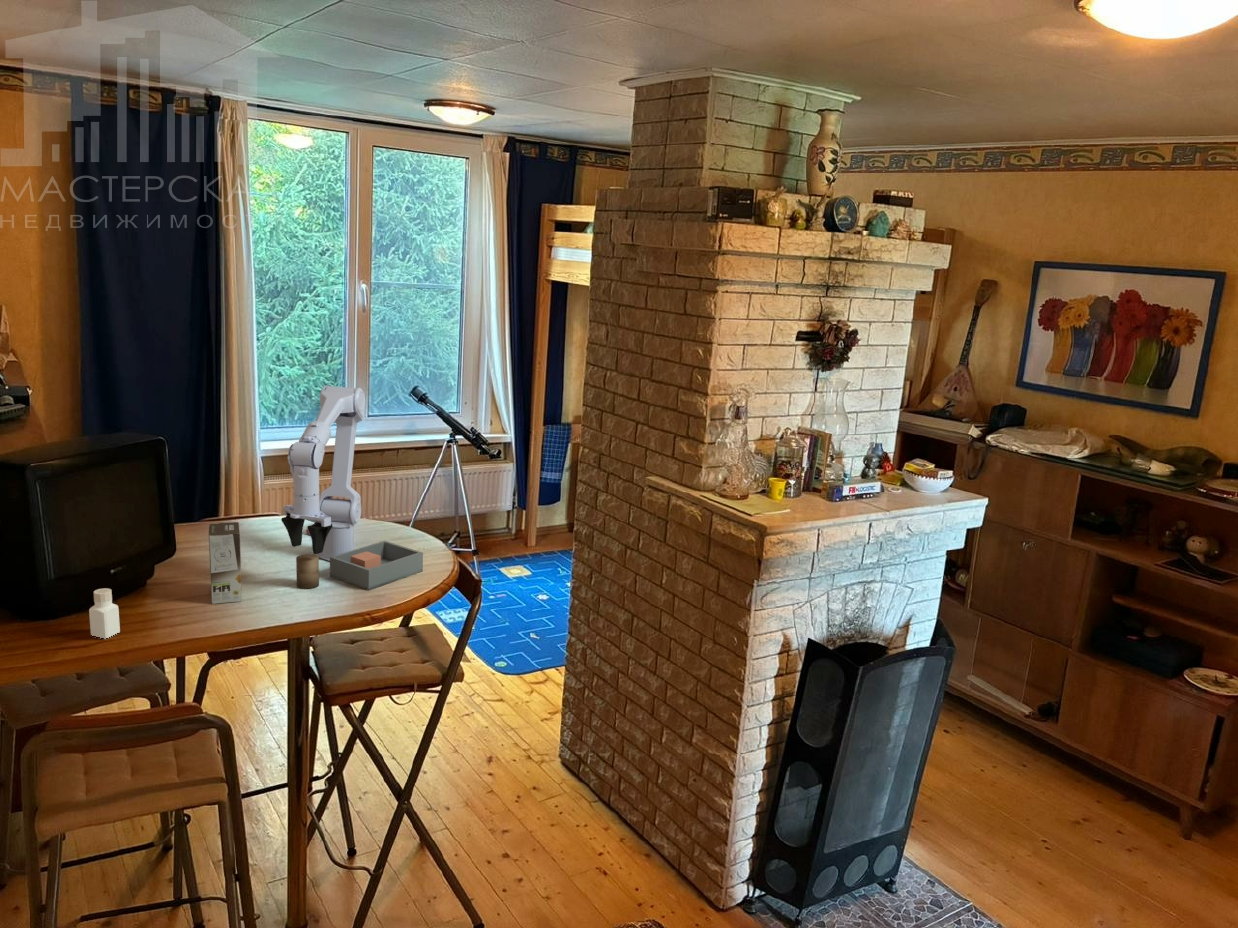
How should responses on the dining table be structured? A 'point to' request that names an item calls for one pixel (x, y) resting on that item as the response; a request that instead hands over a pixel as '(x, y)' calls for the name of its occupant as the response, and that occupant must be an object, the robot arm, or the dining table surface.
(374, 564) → the cube
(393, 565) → the tote
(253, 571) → the dining table surface
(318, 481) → the robot arm
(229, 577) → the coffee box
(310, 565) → the cylinder
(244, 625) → the dining table surface
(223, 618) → the dining table surface
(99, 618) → the white pill bottle
